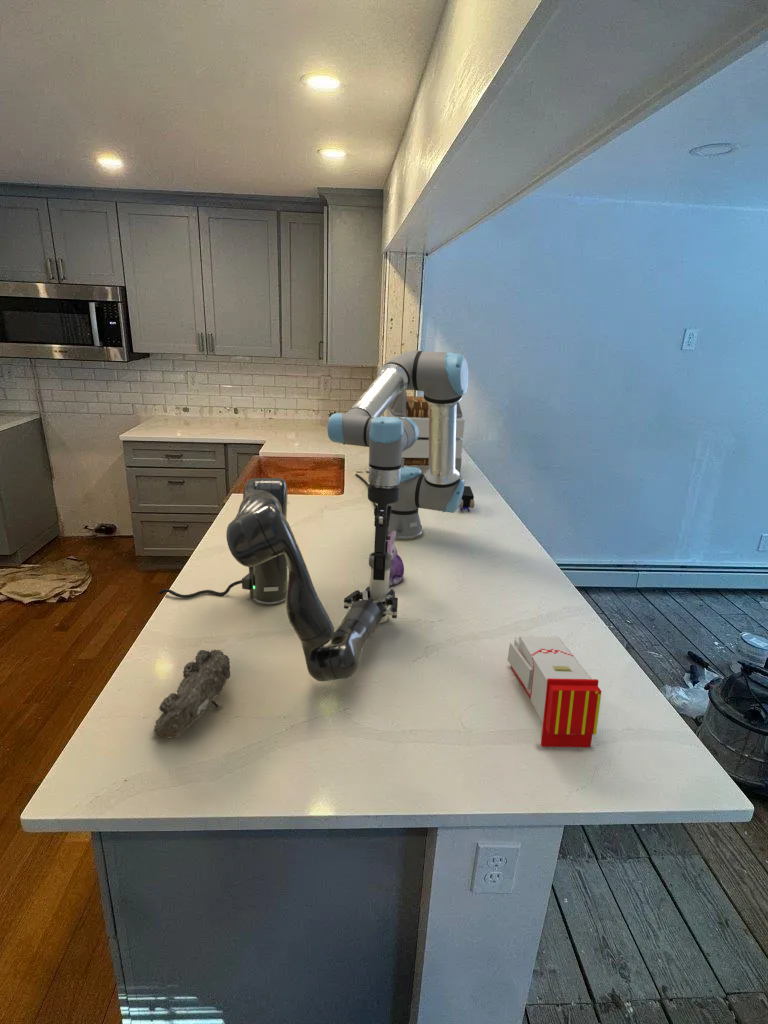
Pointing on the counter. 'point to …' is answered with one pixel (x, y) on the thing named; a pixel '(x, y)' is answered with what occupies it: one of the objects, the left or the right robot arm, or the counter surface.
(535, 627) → the counter surface
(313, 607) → the left robot arm
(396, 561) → the figurine
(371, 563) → the lid
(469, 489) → the figurine character
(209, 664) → the fossil
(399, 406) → the grey brown slatted box
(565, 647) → the toy
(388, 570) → the jar
